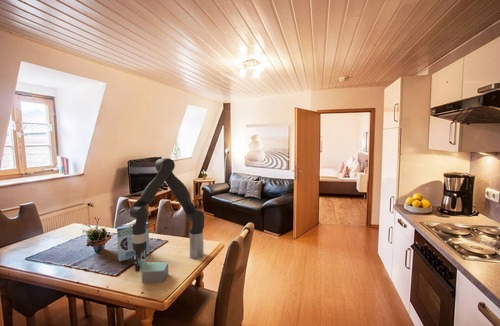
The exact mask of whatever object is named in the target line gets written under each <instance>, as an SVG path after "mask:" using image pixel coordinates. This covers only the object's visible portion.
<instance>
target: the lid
mask: <svg viewBox="0 0 500 326" xmlns="http://www.w3.org/2000/svg"><path fill="white" fill-rule="evenodd" d="M138 262H139V261H138ZM136 263H137V262H136ZM167 265H168V266H169V261H157V262H156V261H153V262H152V261H151V262H150V261H149V262H148V261H147V258H145V259H141V261H140V271H141V273H142V272H164V270H165V269H166V267H167Z"/></svg>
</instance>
